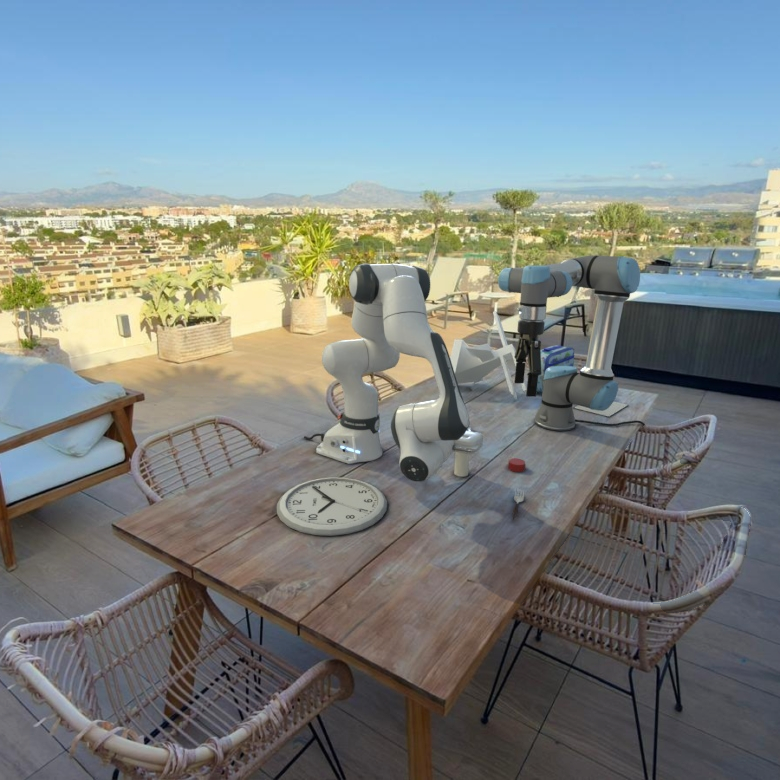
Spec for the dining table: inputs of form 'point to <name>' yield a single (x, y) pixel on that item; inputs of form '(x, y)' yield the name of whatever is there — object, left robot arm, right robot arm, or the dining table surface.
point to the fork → (517, 499)
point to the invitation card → (608, 412)
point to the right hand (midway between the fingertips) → (524, 389)
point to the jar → (461, 464)
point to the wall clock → (331, 506)
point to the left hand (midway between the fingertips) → (452, 427)
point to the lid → (516, 465)
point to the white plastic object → (483, 360)
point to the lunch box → (554, 360)
